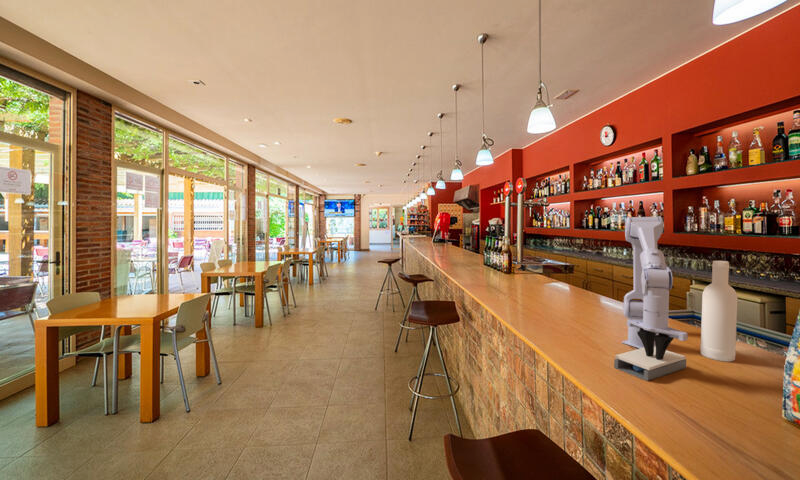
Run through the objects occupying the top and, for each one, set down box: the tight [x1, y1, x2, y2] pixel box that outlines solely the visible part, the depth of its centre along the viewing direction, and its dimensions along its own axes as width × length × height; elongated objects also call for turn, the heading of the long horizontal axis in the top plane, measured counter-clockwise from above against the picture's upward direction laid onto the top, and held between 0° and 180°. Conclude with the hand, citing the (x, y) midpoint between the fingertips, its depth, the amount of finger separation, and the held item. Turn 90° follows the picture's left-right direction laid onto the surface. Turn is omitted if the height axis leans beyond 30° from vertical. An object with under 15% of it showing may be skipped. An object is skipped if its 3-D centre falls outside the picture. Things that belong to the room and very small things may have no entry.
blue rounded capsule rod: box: [633, 365, 645, 371], centre depth 95 cm, size 13×2×2 cm, turn 113°
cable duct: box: [613, 358, 687, 382], centre depth 96 cm, size 18×9×3 cm, turn 113°
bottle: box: [699, 260, 739, 363], centre depth 102 cm, size 8×8×30 cm
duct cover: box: [614, 347, 686, 370], centre depth 96 cm, size 17×9×1 cm, turn 113°
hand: (654, 357), depth 94 cm, fingers closed on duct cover, 2 cm apart
